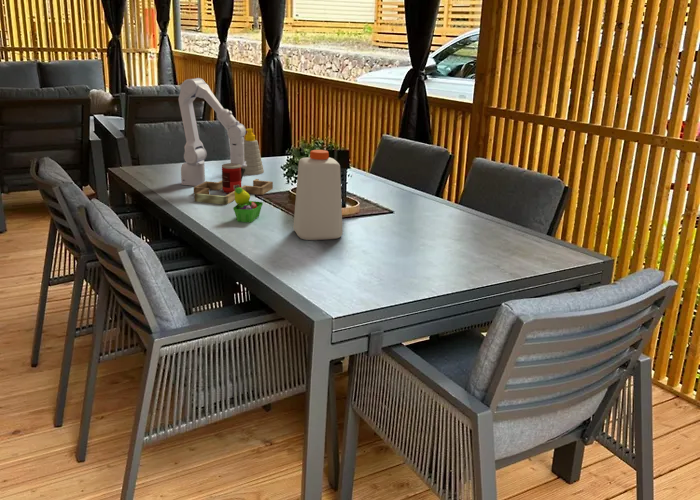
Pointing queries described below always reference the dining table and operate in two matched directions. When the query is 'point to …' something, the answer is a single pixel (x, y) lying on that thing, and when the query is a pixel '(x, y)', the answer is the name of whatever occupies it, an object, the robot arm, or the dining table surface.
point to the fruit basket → (246, 206)
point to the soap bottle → (252, 155)
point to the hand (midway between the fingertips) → (237, 185)
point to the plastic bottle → (318, 198)
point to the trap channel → (203, 194)
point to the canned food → (231, 177)
